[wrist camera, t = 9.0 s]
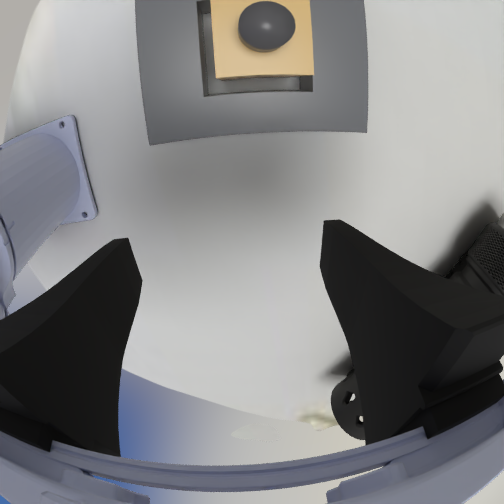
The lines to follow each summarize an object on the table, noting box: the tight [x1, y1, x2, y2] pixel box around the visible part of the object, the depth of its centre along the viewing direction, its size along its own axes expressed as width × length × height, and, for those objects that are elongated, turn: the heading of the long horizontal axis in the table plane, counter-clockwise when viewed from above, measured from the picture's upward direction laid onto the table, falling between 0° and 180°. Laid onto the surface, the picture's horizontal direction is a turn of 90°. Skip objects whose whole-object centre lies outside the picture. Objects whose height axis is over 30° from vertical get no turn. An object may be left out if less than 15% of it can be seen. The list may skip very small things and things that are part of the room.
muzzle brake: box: [331, 213, 504, 440], centre depth 23 cm, size 10×28×10 cm, turn 152°
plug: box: [210, 0, 314, 80], centre depth 10 cm, size 4×4×8 cm
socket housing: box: [135, 0, 368, 145], centre depth 12 cm, size 12×10×3 cm
